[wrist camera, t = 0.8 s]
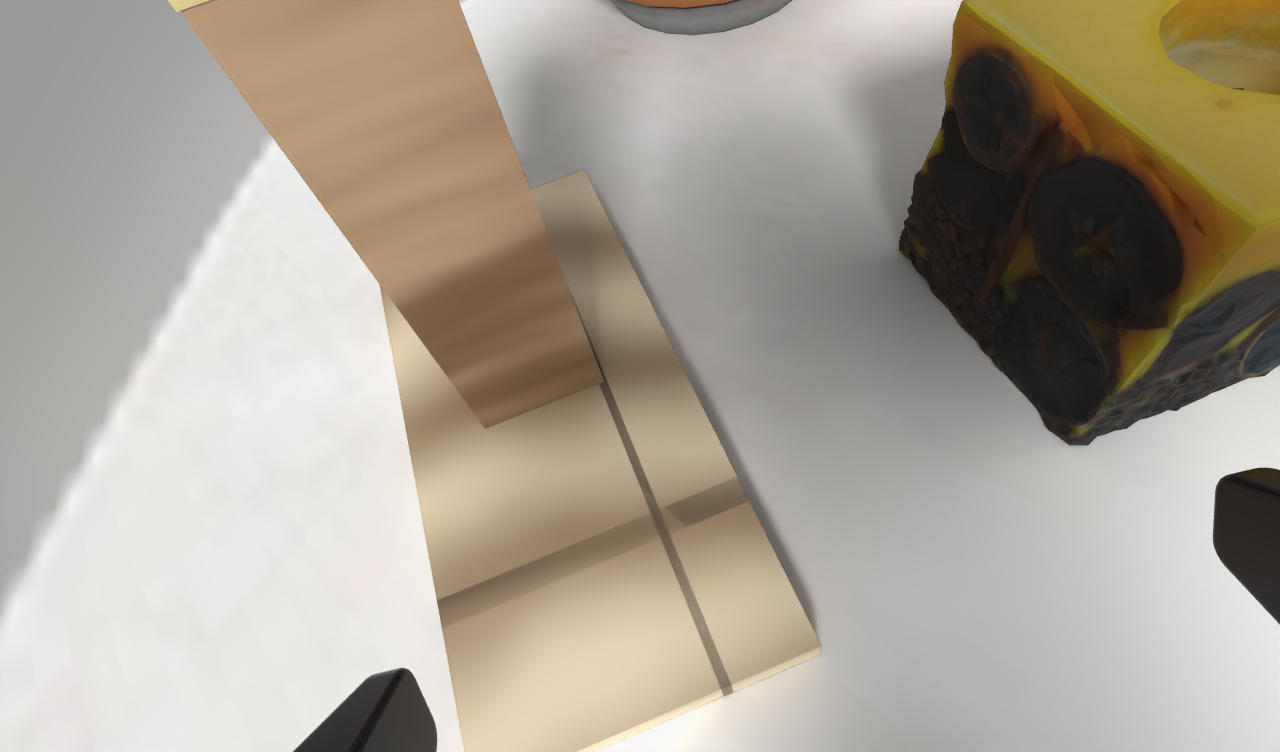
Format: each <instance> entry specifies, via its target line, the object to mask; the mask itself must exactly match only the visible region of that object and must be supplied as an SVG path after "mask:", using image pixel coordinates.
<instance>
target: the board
mask: <svg viewBox="0 0 1280 752" xmlns="http://www.w3.org/2000/svg"><path fill="white" fill-rule="evenodd" d="M531 192H532V194H533V197H534V200H535V202H536V205H537V207H538V210H539V213H540V215H541V218H542V220H543V223H544V226H545V228H546V231H547V233H548V236H549V239H550V241H551V244H552V246H553V249H554V252H555V254H556V257H557V260H558V262H559V265H560V267H561V270H562V273H563V275H564V278H565V280H566V283H567V286H568V288H569V291H570V293H571V296H572V299H573V301H574V304H575V306H576V309H577V312H578V314H579V317H580V320H581V322H582V325H583V327H584V330H585V333H586V335H587V338H588V340H589V343H590V346H591V348H592V351H593V353H594V356H595V359H596V361H597V364H598V367H599V369H600V372H601V374H602V377H603V380H604V382H602V383H600V384H597V385H595V386H592V387H590V388H587V389H585V390H582V391H580V392H577V393H574V394H572V395H569V396H567V397H564V398H562V399H559V400H557V401H554V402H552V403H549V404H547V405H544V406H542V407H539V408H537V409H534V410H532V411H529V412H527V413H524V414H522V415H519V416H517V417H514V418H512V419H509V420H507V421H504V422H502V423H499V424H497V425H494V426H491V427H489V428H486V429H485V428H484V427H483V425H482V424H481V422H480V421H479V420H478V418H477V417H476V416H475V414H474V413H473V411H472V410H471V409H470V407H469V406H468V405H467V403H466V402H465V400H464V399H463V398H462V396H461V395H460V394H459V392H458V391H457V390H456V388H455V387H454V385H453V384H452V383H451V381H450V380H449V379H448V377H447V376H446V374H445V373H444V372H443V370H442V369H441V368H440V366H439V365H438V363H437V362H436V361H435V359H434V358H433V357H432V355H431V354H430V352H429V351H428V350H427V348H426V347H425V346H424V344H423V343H422V341H421V340H420V339H419V337H418V336H417V335H416V333H415V332H414V331H413V329H412V328H411V326H410V325H409V324H408V322H407V321H406V320H405V318H404V317H403V315H402V314H401V313H400V311H399V310H398V309H397V307H396V306H395V304H394V303H393V302H392V300H391V299H390V298H389V296H388V295H387V293H386V292H385V291H384V289H383V288H382V287H381V285H380V290H381V295H382V301H383V306H384V312H385V317H386V323H387V328H388V334H389V339H390V345H391V350H392V356H393V361H394V367H395V372H396V378H397V383H398V389H399V394H400V400H401V405H402V411H403V416H404V422H405V427H406V433H407V438H408V444H409V449H410V455H411V460H412V466H413V471H414V477H415V482H416V488H417V493H418V499H419V504H420V510H421V515H422V521H423V526H424V532H425V537H426V543H427V548H428V554H429V559H430V565H431V570H432V576H433V581H434V587H435V592H436V598H437V603H438V609H439V614H440V620H441V625H442V631H443V636H444V642H445V647H446V653H447V658H448V664H449V669H450V675H451V680H452V686H453V691H454V697H455V702H456V708H457V713H458V719H459V724H460V730H461V735H462V741H463V746H464V752H596V751H598V750H600V749H603V748H605V747H607V746H610V745H612V744H614V743H617V742H619V741H621V740H624V739H626V738H628V737H631V736H633V735H635V734H637V733H640V732H642V731H644V730H647V729H649V728H651V727H654V726H656V725H658V724H661V723H663V722H665V721H668V720H670V719H672V718H674V717H677V716H679V715H681V714H684V713H686V712H688V711H691V710H693V709H695V708H698V707H700V706H702V705H705V704H707V703H709V702H711V701H714V700H716V699H718V698H721V697H723V696H725V695H728V694H730V693H732V692H735V691H737V690H739V689H742V688H744V687H746V686H748V685H751V684H753V683H755V682H758V681H760V680H762V679H765V678H767V677H769V676H772V675H774V674H776V673H779V672H781V671H783V670H785V669H788V668H790V667H792V666H795V665H797V664H799V663H802V662H804V661H806V660H809V659H811V658H813V657H816V656H818V655H819V653H820V650H821V644H820V642H819V640H818V638H817V636H816V634H815V632H814V630H813V628H812V626H811V624H810V622H809V620H808V618H807V616H806V614H805V612H804V610H803V608H802V606H801V604H800V602H799V600H798V598H797V596H796V594H795V592H794V590H793V588H792V586H791V584H790V582H789V580H788V578H787V576H786V574H785V572H784V570H783V568H782V566H781V564H780V562H779V560H778V558H777V556H776V553H775V551H774V549H773V547H772V545H771V543H770V541H769V539H768V537H767V535H766V533H765V531H764V529H763V527H762V525H761V523H760V521H759V519H758V517H757V515H756V513H755V511H754V509H753V507H752V505H751V503H750V501H749V499H748V497H747V495H746V493H745V491H744V489H743V487H742V485H741V483H740V481H739V479H738V477H737V475H736V473H735V471H734V469H733V467H732V465H731V463H730V461H729V459H728V457H727V455H726V453H725V451H724V449H723V447H722V445H721V443H720V441H719V439H718V437H717V435H716V433H715V431H714V429H713V427H712V425H711V423H710V421H709V419H708V417H707V415H706V413H705V411H704V409H703V407H702V405H701V403H700V401H699V399H698V397H697V395H696V393H695V391H694V389H693V387H692V385H691V383H690V381H689V379H688V377H687V375H686V373H685V371H684V369H683V367H682V365H681V363H680V361H679V359H678V357H677V355H676V353H675V351H674V349H673V347H672V345H671V343H670V341H669V339H668V337H667V335H666V333H665V331H664V329H663V327H662V325H661V323H660V321H659V319H658V317H657V315H656V313H655V311H654V309H653V307H652V305H651V303H650V301H649V299H648V297H647V295H646V293H645V291H644V289H643V287H642V285H641V283H640V281H639V279H638V277H637V274H636V272H635V270H634V268H633V266H632V264H631V262H630V260H629V258H628V256H627V254H626V252H625V250H624V248H623V246H622V244H621V242H620V240H619V238H618V236H617V234H616V232H615V230H614V228H613V226H612V224H611V222H610V220H609V218H608V216H607V214H606V212H605V210H604V208H603V206H602V204H601V202H600V200H599V198H598V196H597V194H596V192H595V190H594V188H593V186H592V184H591V182H590V180H589V178H588V176H587V174H586V172H585V170H584V169H583V170H580V171H578V172H575V173H573V174H570V175H567V176H565V177H562V178H559V179H557V180H554V181H551V182H549V183H546V184H543V185H541V186H538V187H535V188H533V189H531Z"/></svg>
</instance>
